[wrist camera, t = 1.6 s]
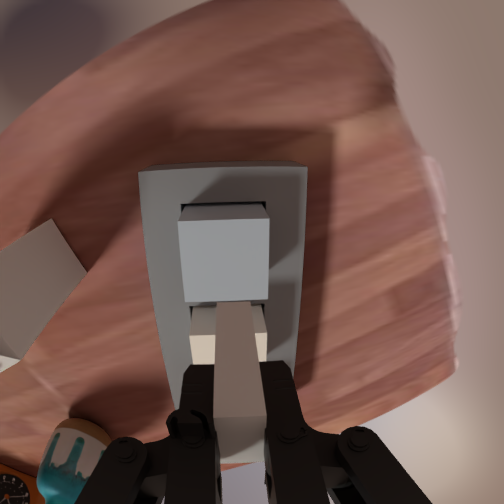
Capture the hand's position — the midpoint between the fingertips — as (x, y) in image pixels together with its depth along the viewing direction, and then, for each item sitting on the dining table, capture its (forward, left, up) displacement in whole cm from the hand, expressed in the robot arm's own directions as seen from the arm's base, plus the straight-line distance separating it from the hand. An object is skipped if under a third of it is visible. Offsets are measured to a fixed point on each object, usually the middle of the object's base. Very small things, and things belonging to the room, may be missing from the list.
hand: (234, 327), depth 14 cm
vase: (-24, -32, -17) cm, 43 cm away
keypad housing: (0, -9, -17) cm, 19 cm away
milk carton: (-20, -3, -17) cm, 26 cm away
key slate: (0, 0, -14) cm, 14 cm away
